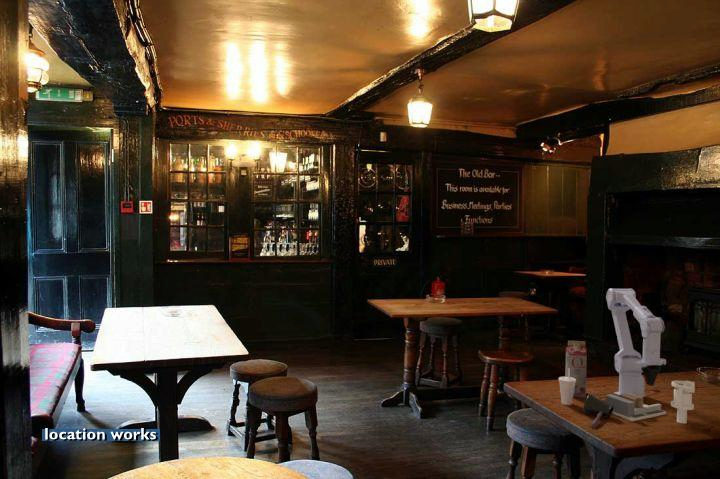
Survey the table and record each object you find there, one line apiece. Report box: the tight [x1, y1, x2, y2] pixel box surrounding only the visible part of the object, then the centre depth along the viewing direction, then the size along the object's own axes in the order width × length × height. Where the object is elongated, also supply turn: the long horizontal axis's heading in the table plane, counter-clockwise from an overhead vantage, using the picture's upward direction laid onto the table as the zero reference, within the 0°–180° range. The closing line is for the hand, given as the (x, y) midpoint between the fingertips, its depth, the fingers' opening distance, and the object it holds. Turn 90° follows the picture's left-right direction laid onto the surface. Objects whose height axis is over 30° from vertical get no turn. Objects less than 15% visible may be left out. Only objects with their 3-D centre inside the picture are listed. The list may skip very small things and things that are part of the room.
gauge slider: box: [619, 393, 647, 409], centre depth 201 cm, size 5×9×5 cm, turn 25°
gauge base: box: [604, 393, 667, 422], centre depth 203 cm, size 18×13×6 cm
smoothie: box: [558, 368, 576, 406], centre depth 211 cm, size 6×6×14 cm
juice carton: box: [564, 340, 588, 398], centre depth 223 cm, size 7×7×22 cm
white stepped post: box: [670, 380, 696, 425], centre depth 193 cm, size 7×7×15 cm
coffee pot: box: [583, 393, 613, 429], centre depth 195 cm, size 8×18×8 cm
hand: (650, 384), depth 207 cm, fingers closed
